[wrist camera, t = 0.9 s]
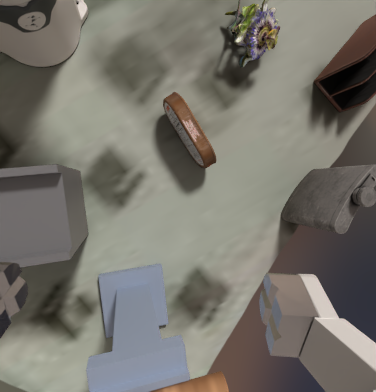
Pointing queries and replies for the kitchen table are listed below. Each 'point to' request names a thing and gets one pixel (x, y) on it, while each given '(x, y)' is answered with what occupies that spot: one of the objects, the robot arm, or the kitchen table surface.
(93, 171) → the kitchen table surface
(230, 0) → the kitchen table surface
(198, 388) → the dowel
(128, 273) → the shelf post
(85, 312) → the kitchen table surface
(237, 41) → the passion flower
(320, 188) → the flask
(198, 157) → the tin
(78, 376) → the kitchen table surface
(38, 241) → the tray stand
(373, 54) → the letter holder
